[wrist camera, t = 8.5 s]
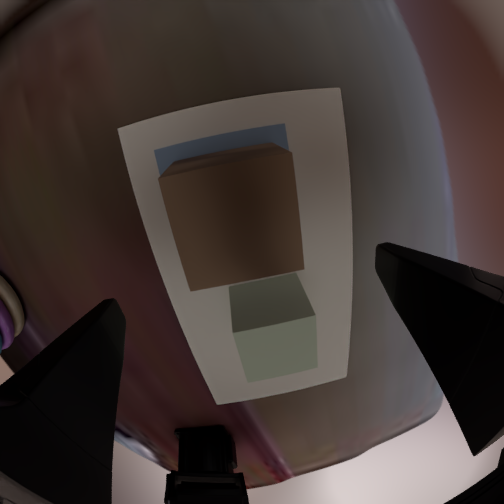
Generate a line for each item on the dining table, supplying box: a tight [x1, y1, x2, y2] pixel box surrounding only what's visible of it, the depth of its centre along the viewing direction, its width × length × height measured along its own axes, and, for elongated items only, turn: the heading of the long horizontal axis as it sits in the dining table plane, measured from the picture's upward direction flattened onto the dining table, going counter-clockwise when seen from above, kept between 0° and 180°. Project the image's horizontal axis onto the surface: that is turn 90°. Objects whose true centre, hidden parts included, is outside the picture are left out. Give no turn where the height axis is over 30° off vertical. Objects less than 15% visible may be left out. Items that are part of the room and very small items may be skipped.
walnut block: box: [158, 142, 304, 292], centre depth 16 cm, size 6×6×5 cm
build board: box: [118, 88, 353, 405], centre depth 22 cm, size 14×27×1 cm, turn 10°
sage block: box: [229, 273, 318, 383], centre depth 20 cm, size 5×5×5 cm
